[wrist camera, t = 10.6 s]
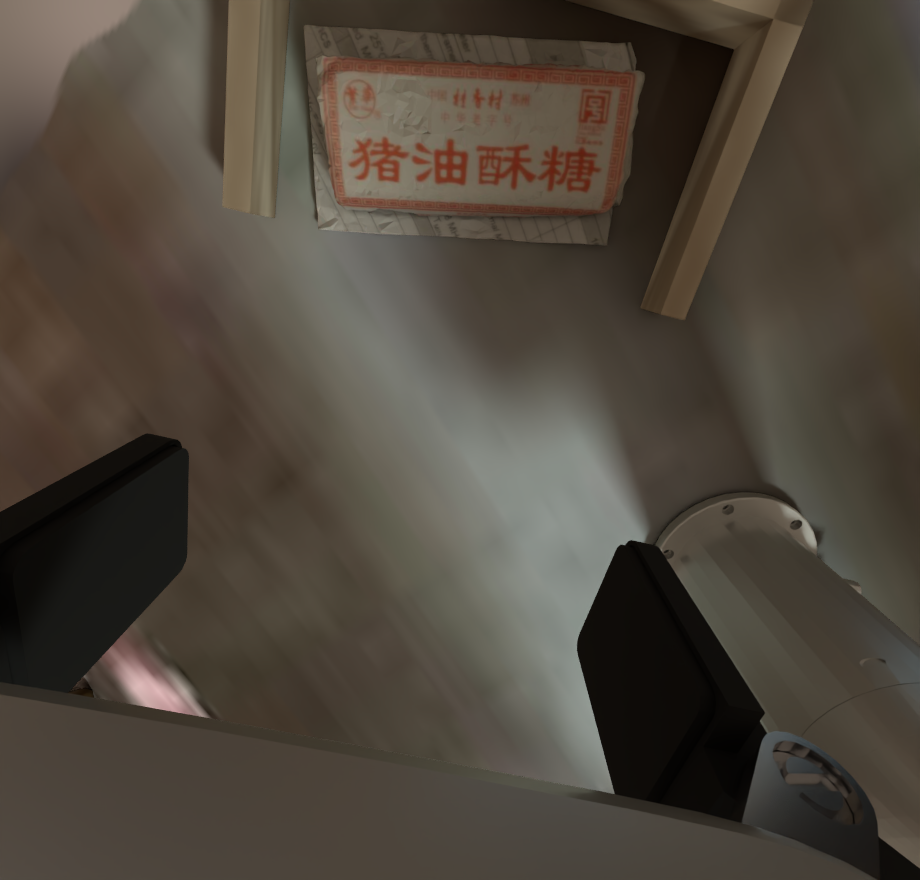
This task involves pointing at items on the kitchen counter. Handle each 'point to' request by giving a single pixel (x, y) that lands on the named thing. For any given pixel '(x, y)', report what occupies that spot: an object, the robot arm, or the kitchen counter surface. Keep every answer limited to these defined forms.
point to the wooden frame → (654, 3)
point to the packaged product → (470, 133)
